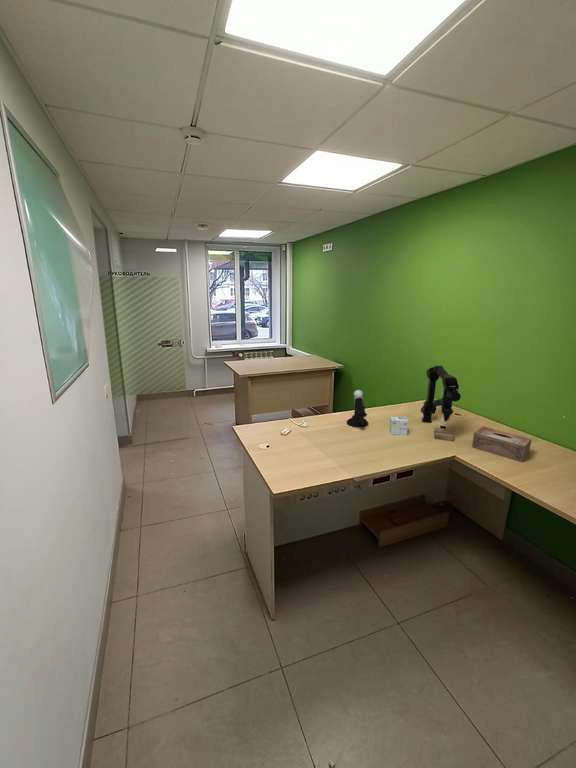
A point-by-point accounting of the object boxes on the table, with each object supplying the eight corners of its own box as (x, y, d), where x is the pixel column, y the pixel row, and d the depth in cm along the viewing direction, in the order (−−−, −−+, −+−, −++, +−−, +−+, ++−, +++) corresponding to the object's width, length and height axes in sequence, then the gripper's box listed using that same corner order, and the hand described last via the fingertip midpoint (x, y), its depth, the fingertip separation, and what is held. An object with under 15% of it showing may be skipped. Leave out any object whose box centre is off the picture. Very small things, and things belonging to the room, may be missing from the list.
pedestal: (434, 432, 225) (434, 428, 224) (452, 434, 221) (452, 430, 220) (434, 438, 215) (434, 434, 214) (453, 441, 211) (453, 437, 210)
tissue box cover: (471, 447, 202) (473, 432, 200) (480, 440, 212) (482, 426, 209) (521, 462, 184) (524, 446, 181) (528, 454, 193) (531, 438, 191)
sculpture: (365, 419, 249) (366, 387, 243) (373, 432, 226) (375, 397, 220) (344, 419, 249) (345, 387, 242) (351, 432, 226) (352, 397, 219)
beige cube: (440, 420, 218) (441, 411, 217) (448, 420, 216) (450, 412, 215) (440, 422, 214) (441, 413, 212) (449, 423, 212) (450, 414, 210)
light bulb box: (404, 431, 227) (406, 416, 224) (407, 435, 220) (408, 420, 218) (388, 431, 228) (389, 416, 225) (390, 435, 222) (391, 419, 219)
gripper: (433, 391, 222) (431, 413, 226) (434, 399, 205) (431, 423, 209) (452, 392, 218) (449, 415, 222) (454, 401, 201) (451, 425, 205)
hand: (445, 419), depth 215 cm, fingers closed on beige cube, 5 cm apart
